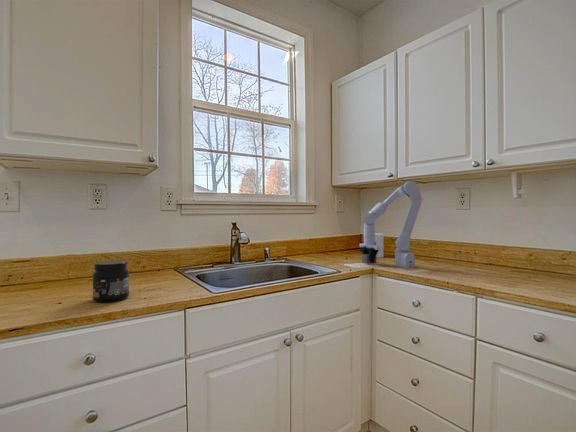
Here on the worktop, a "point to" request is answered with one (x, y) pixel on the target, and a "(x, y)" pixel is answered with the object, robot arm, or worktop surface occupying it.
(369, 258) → the robot arm
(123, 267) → the supplement container
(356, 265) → the board
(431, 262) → the worktop surface
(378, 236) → the supplement box
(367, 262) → the block
